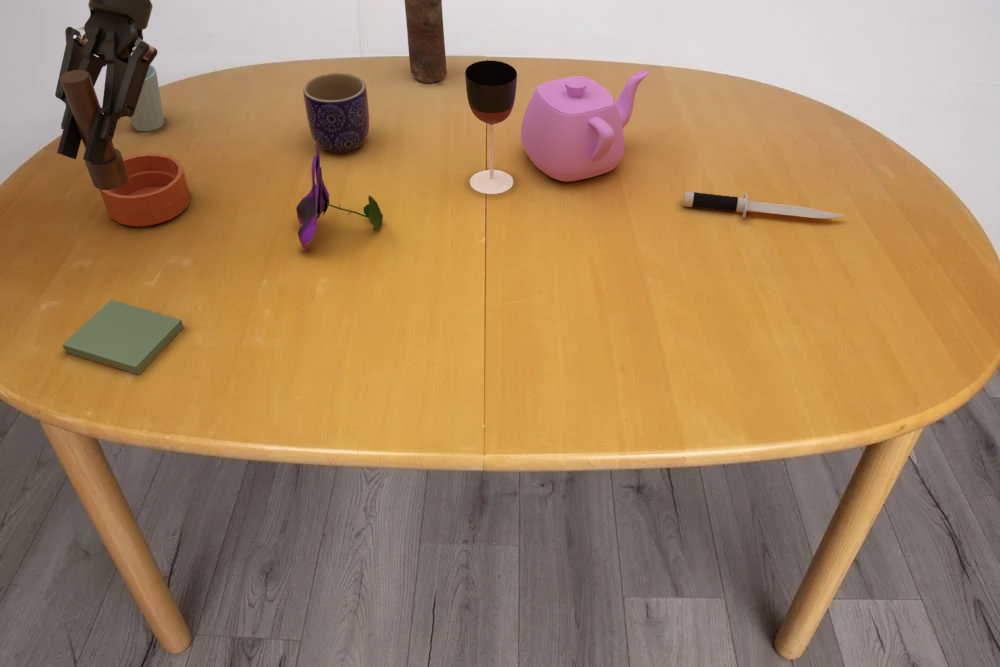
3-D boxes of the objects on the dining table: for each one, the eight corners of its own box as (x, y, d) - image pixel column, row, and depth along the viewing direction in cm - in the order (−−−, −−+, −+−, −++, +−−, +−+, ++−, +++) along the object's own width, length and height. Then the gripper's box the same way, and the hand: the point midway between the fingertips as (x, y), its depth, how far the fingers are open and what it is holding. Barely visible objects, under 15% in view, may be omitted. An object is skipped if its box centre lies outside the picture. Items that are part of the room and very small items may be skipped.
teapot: (561, 208, 144) (567, 126, 134) (507, 147, 158) (508, 69, 148) (678, 176, 151) (691, 97, 141) (616, 120, 165) (624, 44, 155)
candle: (402, 76, 178) (394, -23, 165) (427, 63, 182) (421, -34, 169) (429, 87, 175) (423, -13, 161) (454, 74, 179) (450, -24, 165)
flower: (362, 228, 148) (284, 205, 142) (397, 156, 141) (317, 128, 134) (370, 282, 138) (287, 260, 132) (409, 207, 130) (322, 180, 124)
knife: (684, 200, 142) (686, 184, 145) (682, 213, 143) (683, 196, 147) (850, 219, 138) (847, 201, 142) (845, 232, 140) (843, 214, 143)
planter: (304, 157, 156) (294, 99, 148) (320, 126, 164) (312, 70, 156) (364, 161, 155) (357, 103, 147) (378, 129, 163) (372, 73, 155)
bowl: (92, 219, 142) (80, 187, 138) (143, 177, 151) (133, 147, 146) (159, 236, 138) (148, 204, 134) (207, 193, 147) (198, 162, 143)
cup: (165, 134, 161) (150, 81, 154) (123, 135, 161) (105, 83, 154) (174, 113, 167) (159, 62, 160) (133, 115, 166) (116, 63, 159)
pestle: (86, 186, 123) (46, 80, 112) (108, 168, 126) (72, 65, 116) (113, 193, 122) (76, 87, 111) (136, 175, 125) (101, 71, 114)
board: (65, 352, 119) (61, 344, 118) (113, 307, 126) (110, 299, 125) (138, 375, 116) (135, 367, 115) (184, 327, 123) (181, 319, 122)
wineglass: (501, 163, 154) (502, 56, 140) (523, 189, 148) (526, 79, 135) (460, 174, 152) (456, 66, 138) (481, 200, 146) (479, 90, 132)
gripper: (193, 12, 119) (148, 178, 119) (94, -6, 123) (51, 154, 123) (158, -12, 112) (110, 164, 112) (54, -31, 116) (8, 139, 116)
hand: (79, 159), depth 118 cm, fingers closed on pestle, 4 cm apart
